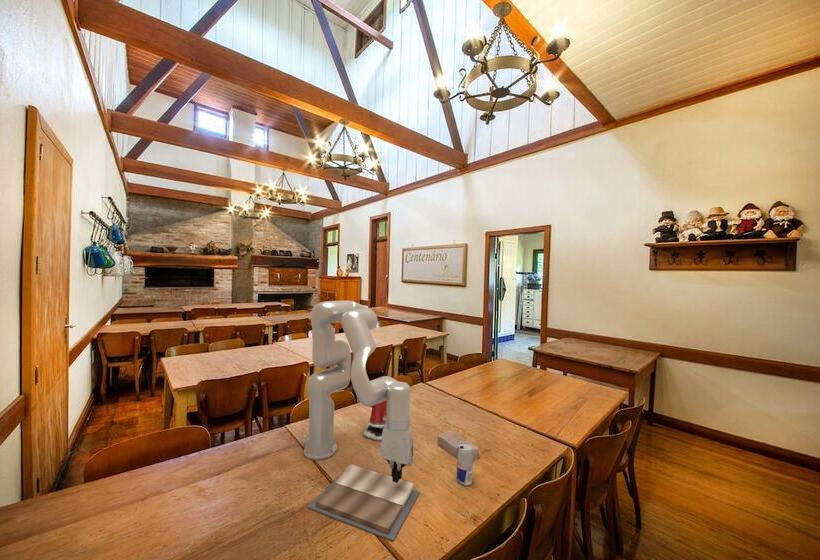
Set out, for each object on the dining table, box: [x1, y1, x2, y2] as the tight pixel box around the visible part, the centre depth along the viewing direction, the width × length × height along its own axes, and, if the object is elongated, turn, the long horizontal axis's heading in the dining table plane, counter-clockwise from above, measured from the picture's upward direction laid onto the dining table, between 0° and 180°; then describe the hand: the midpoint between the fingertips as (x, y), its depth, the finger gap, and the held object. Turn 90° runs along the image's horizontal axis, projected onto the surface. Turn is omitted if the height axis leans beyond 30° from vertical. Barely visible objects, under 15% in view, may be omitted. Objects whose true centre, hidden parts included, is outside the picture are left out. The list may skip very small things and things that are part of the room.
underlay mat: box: [307, 474, 421, 542], centre depth 94 cm, size 28×20×1 cm
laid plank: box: [316, 483, 402, 534], centre depth 90 cm, size 24×9×2 cm, turn 68°
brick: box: [437, 430, 480, 462], centre depth 123 cm, size 17×8×5 cm, turn 35°
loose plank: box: [335, 463, 414, 509], centre depth 98 cm, size 24×9×2 cm, turn 68°
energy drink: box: [455, 443, 474, 487], centre depth 105 cm, size 5×5×12 cm
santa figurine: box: [363, 400, 387, 442], centre depth 137 cm, size 17×14×25 cm
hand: (396, 479), depth 97 cm, fingers closed
